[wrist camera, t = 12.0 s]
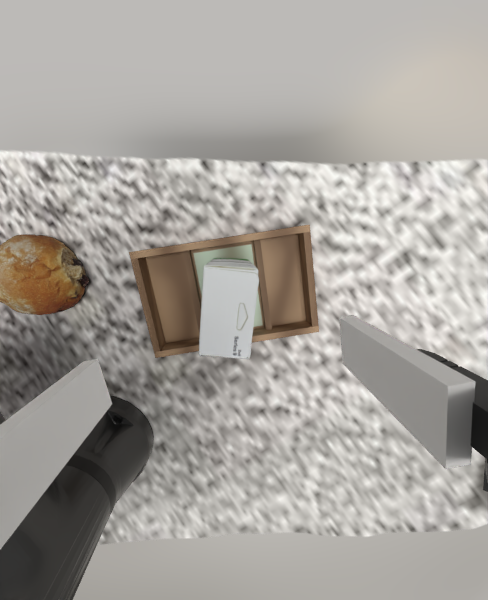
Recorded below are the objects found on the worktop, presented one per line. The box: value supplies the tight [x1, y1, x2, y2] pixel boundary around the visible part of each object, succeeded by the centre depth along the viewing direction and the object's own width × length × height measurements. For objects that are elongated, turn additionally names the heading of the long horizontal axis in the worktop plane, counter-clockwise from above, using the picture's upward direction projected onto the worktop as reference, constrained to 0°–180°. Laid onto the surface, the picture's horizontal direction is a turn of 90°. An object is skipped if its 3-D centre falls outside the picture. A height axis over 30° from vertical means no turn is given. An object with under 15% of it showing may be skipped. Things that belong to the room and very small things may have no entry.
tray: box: [129, 225, 319, 358], centre depth 31 cm, size 22×14×4 cm, turn 99°
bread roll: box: [0, 235, 89, 315], centre depth 29 cm, size 10×10×8 cm
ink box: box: [199, 258, 259, 359], centre depth 26 cm, size 9×5×12 cm, turn 175°
